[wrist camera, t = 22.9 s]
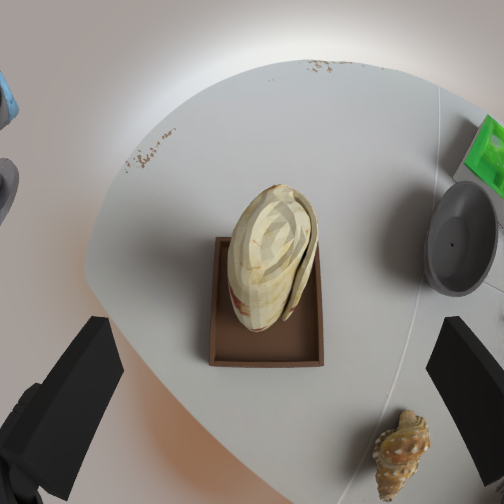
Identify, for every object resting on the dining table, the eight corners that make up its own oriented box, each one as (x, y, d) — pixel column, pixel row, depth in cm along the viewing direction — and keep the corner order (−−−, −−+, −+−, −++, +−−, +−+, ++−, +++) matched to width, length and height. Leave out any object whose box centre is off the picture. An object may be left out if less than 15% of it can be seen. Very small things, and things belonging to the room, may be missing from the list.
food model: (256, 260, 40) (255, 158, 22) (304, 278, 39) (342, 187, 21) (226, 329, 37) (195, 276, 18) (277, 349, 36) (299, 317, 17)
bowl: (389, 279, 40) (408, 262, 34) (439, 186, 46) (454, 165, 41) (449, 327, 36) (473, 317, 31) (487, 226, 43) (506, 209, 37)
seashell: (410, 458, 32) (420, 504, 22) (359, 455, 34) (360, 503, 24) (434, 408, 31) (453, 451, 21) (379, 404, 33) (388, 450, 24)
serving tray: (212, 366, 36) (208, 365, 33) (218, 245, 42) (215, 236, 40) (319, 366, 35) (324, 365, 33) (314, 246, 42) (317, 237, 39)
